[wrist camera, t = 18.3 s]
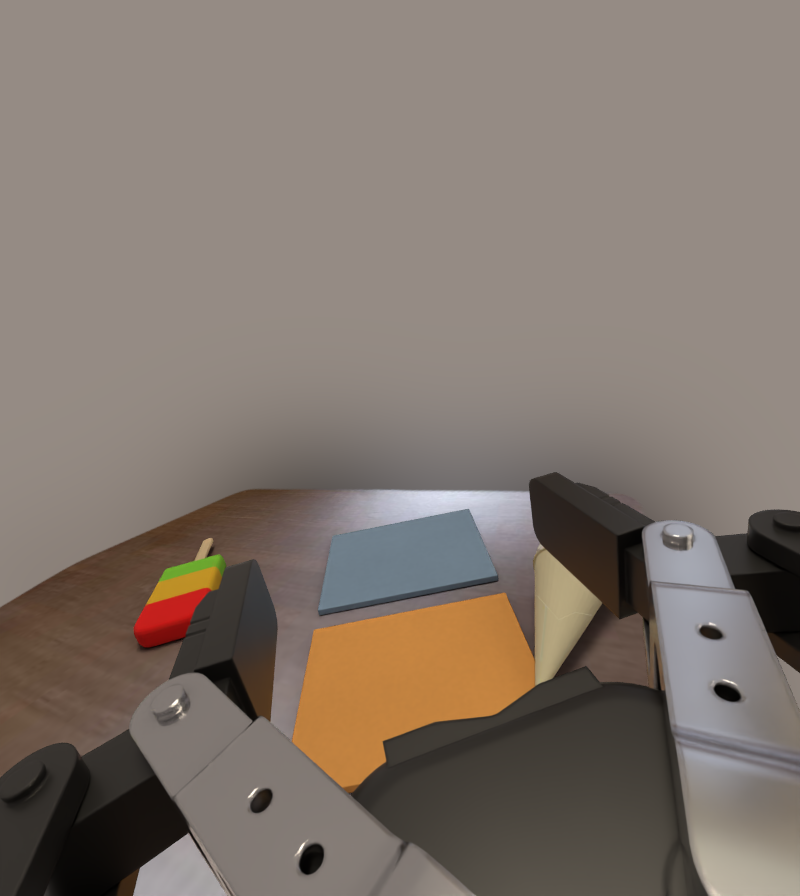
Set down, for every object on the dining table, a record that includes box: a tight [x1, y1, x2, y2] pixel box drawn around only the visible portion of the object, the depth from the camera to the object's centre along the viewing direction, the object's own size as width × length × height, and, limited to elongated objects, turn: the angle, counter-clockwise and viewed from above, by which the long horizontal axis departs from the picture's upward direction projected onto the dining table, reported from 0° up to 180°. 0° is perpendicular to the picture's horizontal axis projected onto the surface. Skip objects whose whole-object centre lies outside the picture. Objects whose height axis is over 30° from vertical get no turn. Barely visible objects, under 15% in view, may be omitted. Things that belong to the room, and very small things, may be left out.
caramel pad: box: [292, 593, 535, 793], centre depth 25 cm, size 14×11×1 cm
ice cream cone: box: [533, 544, 602, 686], centre depth 27 cm, size 5×5×15 cm
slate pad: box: [318, 509, 498, 615], centre depth 37 cm, size 14×11×1 cm
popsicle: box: [134, 538, 226, 647], centre depth 39 cm, size 6×15×2 cm, turn 12°
